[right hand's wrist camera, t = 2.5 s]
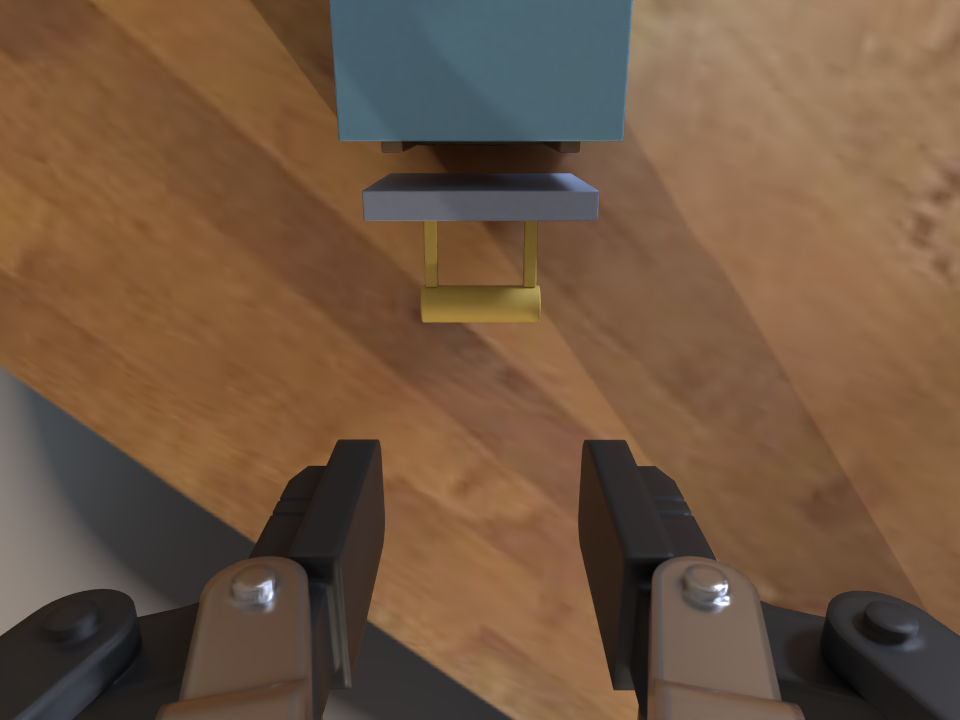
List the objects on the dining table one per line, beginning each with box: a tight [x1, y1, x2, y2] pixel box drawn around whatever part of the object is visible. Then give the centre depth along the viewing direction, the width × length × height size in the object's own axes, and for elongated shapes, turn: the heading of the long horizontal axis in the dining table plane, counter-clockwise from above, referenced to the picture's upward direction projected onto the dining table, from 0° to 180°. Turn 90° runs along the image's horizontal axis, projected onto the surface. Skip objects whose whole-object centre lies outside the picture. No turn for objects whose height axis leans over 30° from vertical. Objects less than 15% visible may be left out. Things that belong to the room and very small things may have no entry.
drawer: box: [362, 141, 599, 322], centre depth 28 cm, size 26×10×9 cm, turn 0°
